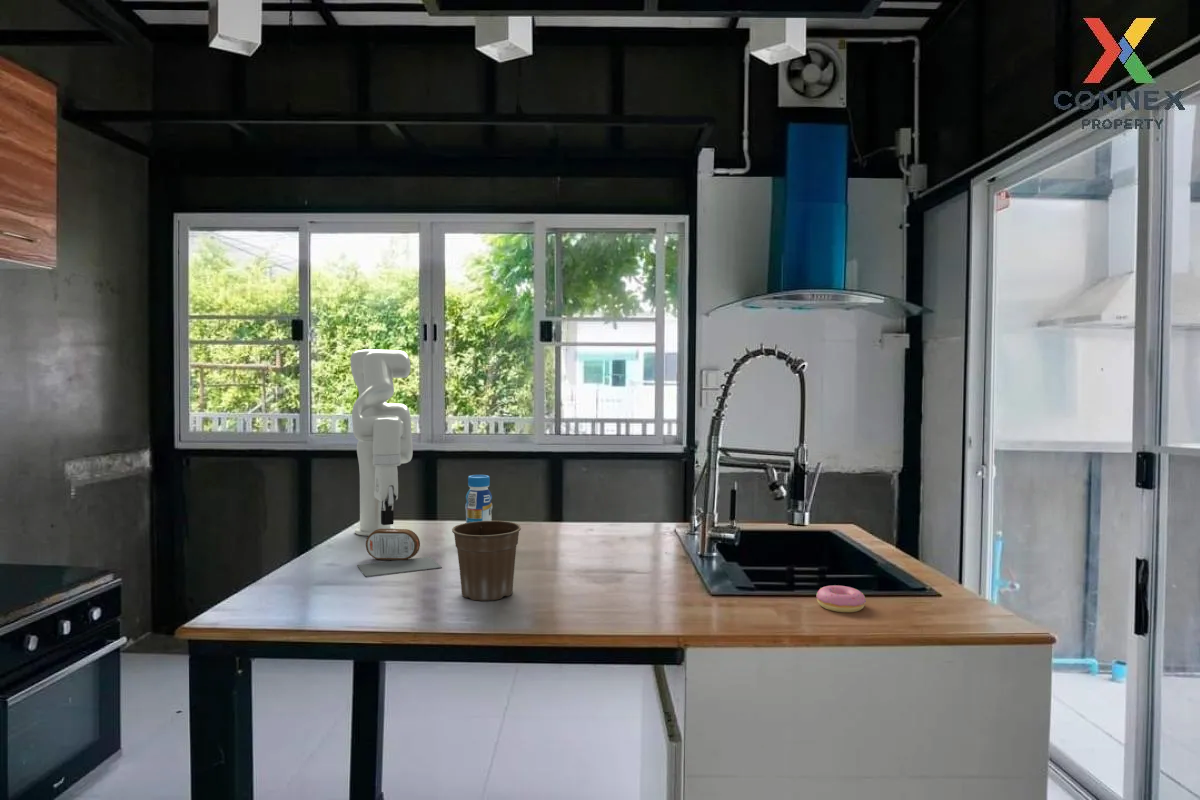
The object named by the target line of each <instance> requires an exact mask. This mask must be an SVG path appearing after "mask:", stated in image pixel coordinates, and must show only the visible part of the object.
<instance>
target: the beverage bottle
mask: <svg viewBox="0 0 1200 800" xmlns="http://www.w3.org/2000/svg"><path fill="white" fill-rule="evenodd" d="M490 478H491V477H490V475H486V474H472V475H468V477H467V485H468V487H469V489H468V491H467V493H466V495H465V500H466V502H465V504H464V505H465V507H464V508H465V523H469V522H477V521H493V520H492V517H493V516H492V510H493V503H492V499H493V495H492V492H491V491H490V489H489V487H490V486H491V485H490V483H491V482H490V481H491V480H490Z"/></svg>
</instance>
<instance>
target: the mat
mask: <svg viewBox="0 0 1200 800" xmlns="http://www.w3.org/2000/svg"><path fill="white" fill-rule="evenodd" d="M356 566H358V567H359V568H360V569H359V568H358V567H357V568H358V569H359V570H360V572H361V571H362V572H363V573H362V572H361V573H362V574H363V576H364V577H365V576H371V577H375V576H374V575H379V576H383V575H382V574H388V575H393V574H392V573H396V574H401V573H400V572H404V573H410V572H409V571H413V572H419V571H418V570H421V571H428V570H427V569H430V570H436V568H438V569H442V568H443V566H442V565H440V564H439V563H438V562H437V561H436V560H434V559H433V558H432V557H431V556H426V557H423V556H422V557H417V558H410V559H407V560H391V561H390V560H388V561H378V562H372V563H371V562H370V563H361V564H356Z"/></svg>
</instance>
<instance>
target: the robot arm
mask: <svg viewBox="0 0 1200 800" xmlns="http://www.w3.org/2000/svg"><path fill="white" fill-rule="evenodd" d="M350 369H351V370H350V371H351V374H352V378H353V380H354V383H355V385H356V388H357V390H358V396H357V398H356V400H355V402H354V404H353V405H352V412H351V418H352V419H351V421H352V432H353V436H354V437H355V439H356V440H357V444H356V454H357V460H358V467H359V526H358V527H356V528H355V529H354V533H355V534H356V535H358V536H365V537H366V536H367V537H368V536H369V535H370V534H371V533H372V532H374V531H375V530H377V529H396V527H395V525H394V524H395V523H394V518H395V517H394V514H395V513H394V504H395V503H394V501H398V498H399V477H398V475H399V472H398V467H400V466H401V465H402V464H407V463H409V462H411V460H412V459H413V454H414V453H413V452H414V451H413V450H414V449H413V448H414V447H413V433H412V420H411V419H412V418H411V413H410V409H409V407H408V406H407V405H405V404H404V403H388V402H387V401H388V400H390V399H391V398H392V397H393V396H394V392H395V387H394V381H393V379H400V378H401V379H405V378H407V377H408V376H409V375H410V373H411V369H412V368H411V360H410V356H409V355H408V353H407V352H406V351H404V350H400V349H398V350H397V349H361V350H360V349H359V350H356V351H354V352H352V354H351V356H350Z"/></svg>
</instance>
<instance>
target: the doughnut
mask: <svg viewBox="0 0 1200 800" xmlns="http://www.w3.org/2000/svg"><path fill="white" fill-rule="evenodd" d="M866 597H867V596H865V594H864V593H863V592H862V591H861V590H859V589H857V588H854V587H851V586H845V585H836V584H834V585H826V586H823V587H820V588H819V589H818V590H817V591H816V597H815V598H816V601H817V603H818V605H819V606H820V607H822V608H824V609H826V610H828V611H831V612H836V613H837V612H838V613H855V612H859V611H861V610H862V609H864V607H865V603H866Z"/></svg>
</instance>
